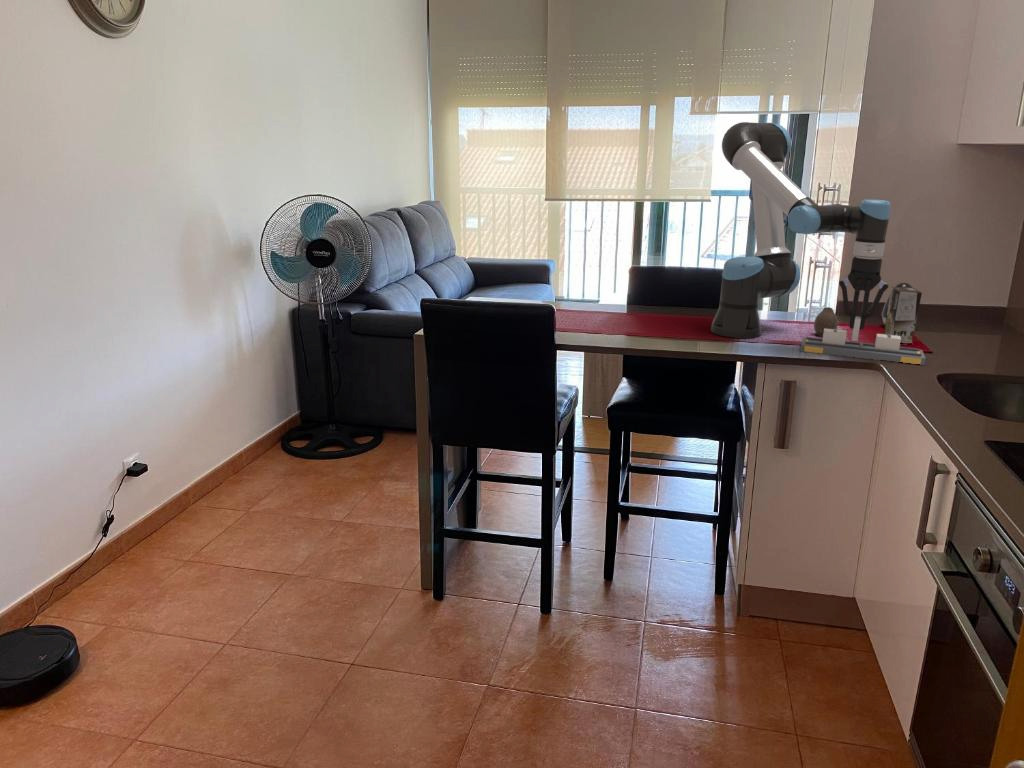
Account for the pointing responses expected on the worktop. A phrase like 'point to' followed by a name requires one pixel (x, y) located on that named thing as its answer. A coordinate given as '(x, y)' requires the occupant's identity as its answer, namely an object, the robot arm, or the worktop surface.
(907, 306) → the coffee box
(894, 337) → the slider
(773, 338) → the worktop surface
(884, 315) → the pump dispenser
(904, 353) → the grey slider track
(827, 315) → the vase
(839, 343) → the slider
